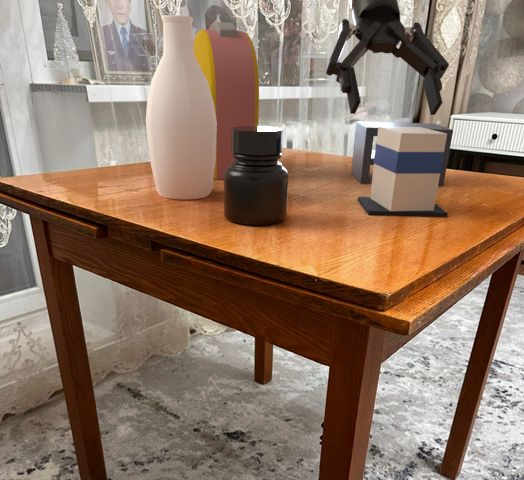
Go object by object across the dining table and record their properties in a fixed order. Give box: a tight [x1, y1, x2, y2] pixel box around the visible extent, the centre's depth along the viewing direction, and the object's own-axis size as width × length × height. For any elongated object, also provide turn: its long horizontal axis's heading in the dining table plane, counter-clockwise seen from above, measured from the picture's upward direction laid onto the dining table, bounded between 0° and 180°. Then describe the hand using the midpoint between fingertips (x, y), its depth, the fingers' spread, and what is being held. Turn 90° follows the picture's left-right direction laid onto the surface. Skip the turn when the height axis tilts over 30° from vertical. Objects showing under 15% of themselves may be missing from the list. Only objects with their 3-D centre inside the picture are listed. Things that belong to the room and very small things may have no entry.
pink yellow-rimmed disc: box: [193, 21, 260, 180], centre depth 107 cm, size 21×9×26 cm, turn 17°
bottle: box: [145, 14, 217, 201], centre depth 85 cm, size 11×11×25 cm
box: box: [369, 127, 447, 211], centre depth 83 cm, size 7×9×11 cm
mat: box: [357, 196, 449, 218], centre depth 86 cm, size 12×10×1 cm
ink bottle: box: [223, 125, 289, 226], centre depth 75 cm, size 10×9×12 cm
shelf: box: [350, 120, 454, 187], centre depth 107 cm, size 16×12×10 cm
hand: (396, 108), depth 85 cm, fingers open, 13 cm apart
